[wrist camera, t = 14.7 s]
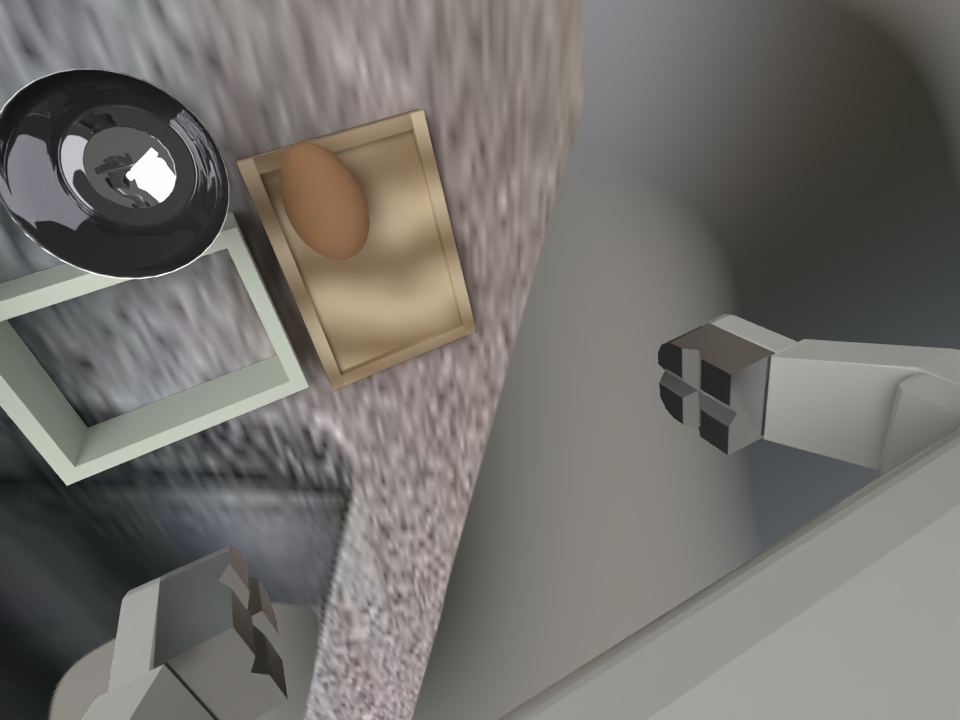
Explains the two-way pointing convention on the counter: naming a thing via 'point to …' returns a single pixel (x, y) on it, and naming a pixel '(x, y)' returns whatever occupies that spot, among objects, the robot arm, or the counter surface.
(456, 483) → the counter surface
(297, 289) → the tray
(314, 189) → the egg
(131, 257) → the wine glass
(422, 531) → the counter surface
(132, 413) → the bin
